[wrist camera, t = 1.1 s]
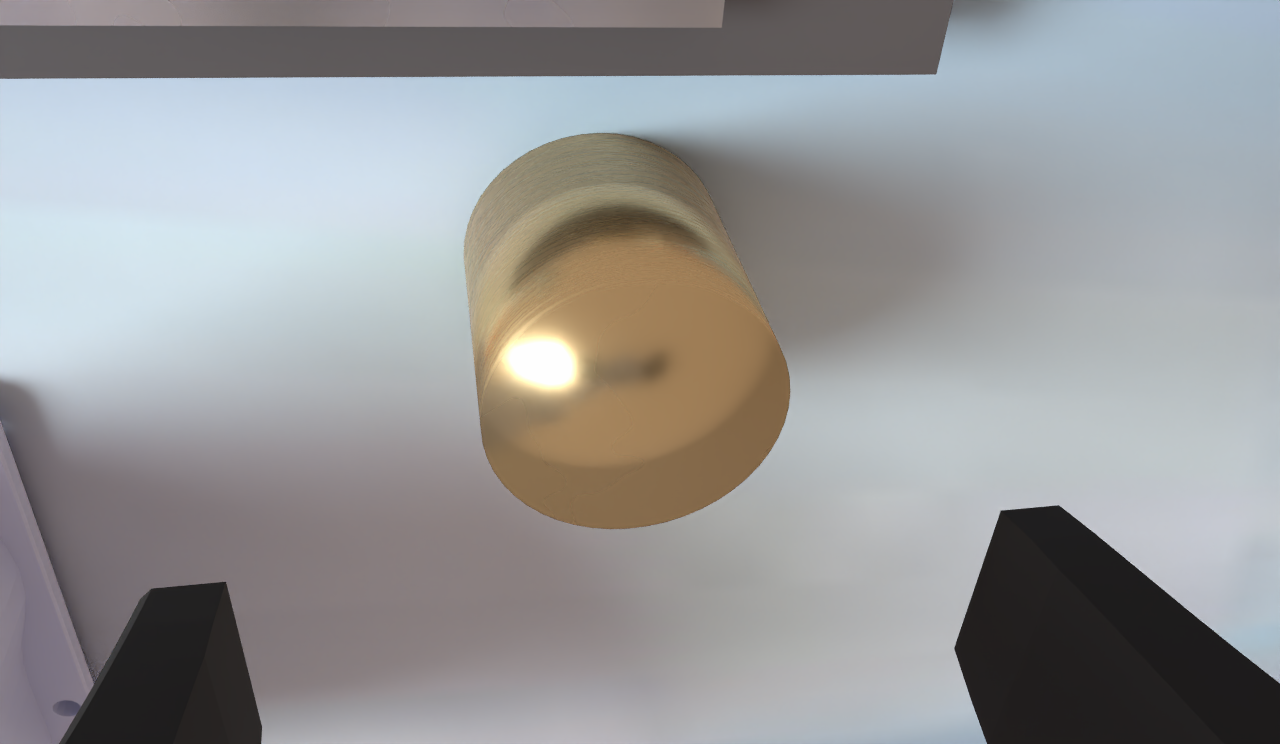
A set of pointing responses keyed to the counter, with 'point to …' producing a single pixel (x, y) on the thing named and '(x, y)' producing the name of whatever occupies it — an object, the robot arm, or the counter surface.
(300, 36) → the scale
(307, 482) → the counter surface
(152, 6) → the platform
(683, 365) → the cylinder
